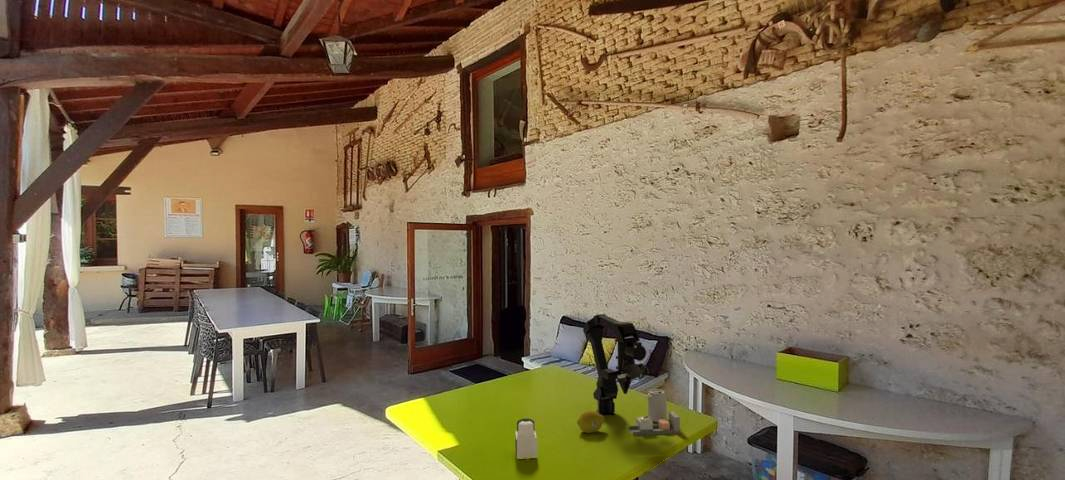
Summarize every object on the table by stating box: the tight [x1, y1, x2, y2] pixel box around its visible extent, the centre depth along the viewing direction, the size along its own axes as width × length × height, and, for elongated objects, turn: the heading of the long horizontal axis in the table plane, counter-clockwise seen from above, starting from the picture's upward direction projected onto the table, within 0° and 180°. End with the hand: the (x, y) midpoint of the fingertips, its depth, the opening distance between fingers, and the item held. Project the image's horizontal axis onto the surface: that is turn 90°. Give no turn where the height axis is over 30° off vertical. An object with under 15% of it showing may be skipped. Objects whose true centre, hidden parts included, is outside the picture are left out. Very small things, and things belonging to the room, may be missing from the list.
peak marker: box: [657, 419, 670, 430], centre depth 183 cm, size 3×4×4 cm
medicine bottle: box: [514, 418, 538, 459], centre depth 164 cm, size 7×7×12 cm
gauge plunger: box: [635, 415, 654, 431], centre depth 182 cm, size 5×4×5 cm
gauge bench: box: [628, 410, 681, 436], centre depth 183 cm, size 18×6×6 cm, turn 94°
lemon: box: [576, 410, 605, 434], centre depth 183 cm, size 11×8×8 cm
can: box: [647, 388, 668, 424], centre depth 194 cm, size 8×8×12 cm
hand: (625, 393), depth 189 cm, fingers closed
